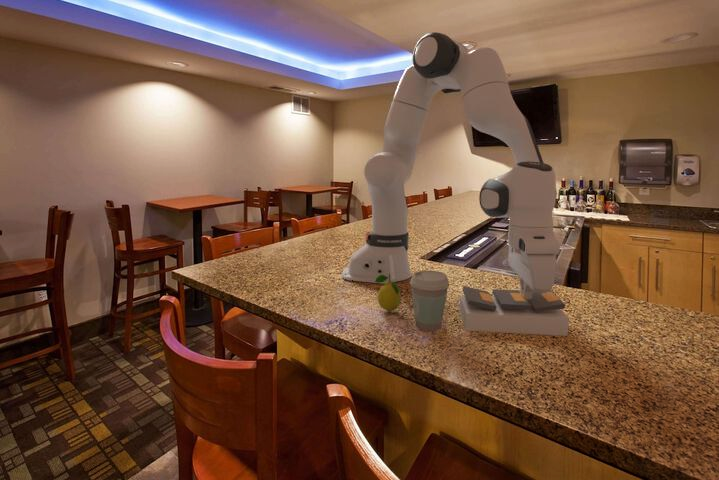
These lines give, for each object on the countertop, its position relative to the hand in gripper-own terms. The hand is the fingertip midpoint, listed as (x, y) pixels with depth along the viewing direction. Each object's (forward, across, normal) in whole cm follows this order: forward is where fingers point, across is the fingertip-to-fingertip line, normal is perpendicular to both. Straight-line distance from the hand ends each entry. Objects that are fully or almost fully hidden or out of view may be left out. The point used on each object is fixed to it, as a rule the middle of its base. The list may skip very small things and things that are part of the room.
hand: (526, 296), depth 83 cm
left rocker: (0, 0, -10) cm, 10 cm away
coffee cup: (+6, +4, -22) cm, 23 cm away
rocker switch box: (+6, 0, -4) cm, 7 cm away
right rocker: (+1, 0, +4) cm, 4 cm away
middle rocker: (0, 0, -3) cm, 3 cm away
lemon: (+6, -2, -32) cm, 32 cm away
